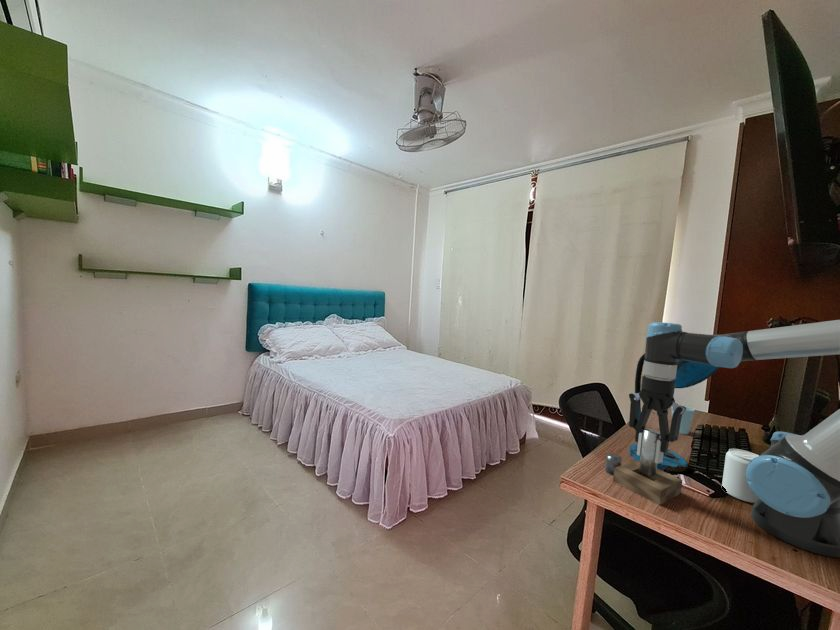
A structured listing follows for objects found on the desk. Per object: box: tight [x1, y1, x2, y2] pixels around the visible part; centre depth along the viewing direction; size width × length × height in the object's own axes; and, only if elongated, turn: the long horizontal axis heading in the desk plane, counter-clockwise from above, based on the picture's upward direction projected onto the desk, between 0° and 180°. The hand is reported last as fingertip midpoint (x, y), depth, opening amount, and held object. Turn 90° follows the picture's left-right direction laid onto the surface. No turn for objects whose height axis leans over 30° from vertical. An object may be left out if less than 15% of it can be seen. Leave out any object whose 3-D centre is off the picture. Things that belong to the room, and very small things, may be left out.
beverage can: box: [721, 448, 760, 504], centre depth 92 cm, size 8×8×12 cm
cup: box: [670, 404, 696, 435], centre depth 137 cm, size 8×8×10 cm
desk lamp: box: [628, 353, 720, 471], centre depth 109 cm, size 16×22×45 cm
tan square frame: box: [612, 459, 683, 506], centre depth 93 cm, size 12×12×4 cm
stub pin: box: [604, 452, 622, 476], centre depth 100 cm, size 4×4×5 cm
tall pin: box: [639, 427, 661, 476], centre depth 92 cm, size 4×4×12 cm
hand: (649, 457), depth 93 cm, fingers closed on tall pin, 4 cm apart
